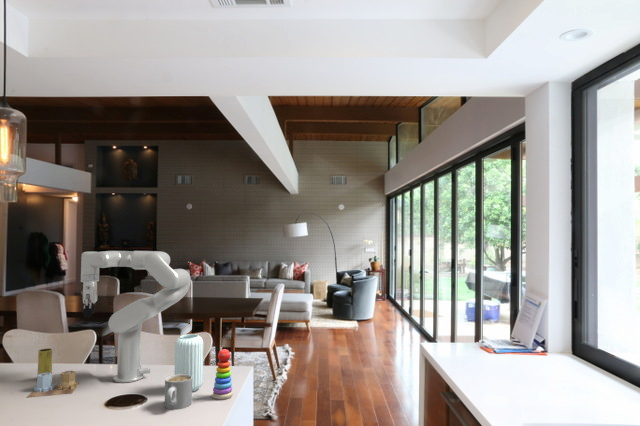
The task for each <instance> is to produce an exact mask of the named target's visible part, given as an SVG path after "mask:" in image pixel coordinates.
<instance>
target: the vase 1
mask: <svg viewBox="0 0 640 426" xmlns="http://www.w3.org/2000/svg"><path fill="white" fill-rule="evenodd" d="M37 354H38V355H37V375H39V374H41V373H52V374H53V349H52V348H41V349H39V350H38V353H37Z"/></svg>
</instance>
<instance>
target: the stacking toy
mask: <svg viewBox="0 0 640 426" xmlns="http://www.w3.org/2000/svg"><path fill="white" fill-rule="evenodd" d="M230 358H231V351H229V349H226V348H224V349H221V350H219V352H218V354H217V359H218V360H219V361H218V362H217V364H216V365H217V367H216V373H215V376H216V377H215V378H214V384H213V386H214V387H213V388H212V391H213V392H212V394H211V395H212V397H213V399H215V400H227V399H230V398H231V397H232V396H233V394H234V393H233V391H232V390H233V387H232V385H233V384H232V376H231V375H232V372H231V367H230V366H231V361H230Z"/></svg>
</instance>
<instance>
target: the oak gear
mask: <svg viewBox="0 0 640 426" xmlns="http://www.w3.org/2000/svg"><path fill="white" fill-rule="evenodd" d="M66 372H71V373H69V374H65V373H66ZM78 383H79V382H78V381H76V371H75V370H67V371H62V372H60V384H59V385H58V384H57V385H58V389H59V390H62V389H63V390H68V389H73V388H75V387H76V388H77V387H78V386H79V384H78ZM77 385H78V386H77Z"/></svg>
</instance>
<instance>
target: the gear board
mask: <svg viewBox="0 0 640 426" xmlns="http://www.w3.org/2000/svg"><path fill="white" fill-rule="evenodd" d="M69 373H71V372H66V373H65V374H69ZM45 375H48V374H42V376H45ZM77 383H78V385H77V387H78V386H79V384H80V382H77ZM54 385H55V387H54V389H52V390H48V391H45V392H43V391H42V392H36V391H34V389H33V390H32V391H31V392H30V393H29V394H28V395H27V396H26V398H28V399H29V398H37V397H38V398H39V397H40V398H41V397H49V396H59V395H60V396H62V395H72V394H73V392H75V390H76V389H77V387H75V388H73V389H68V390H63V389H62V390H59V389H58V385H59V384H54Z"/></svg>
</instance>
